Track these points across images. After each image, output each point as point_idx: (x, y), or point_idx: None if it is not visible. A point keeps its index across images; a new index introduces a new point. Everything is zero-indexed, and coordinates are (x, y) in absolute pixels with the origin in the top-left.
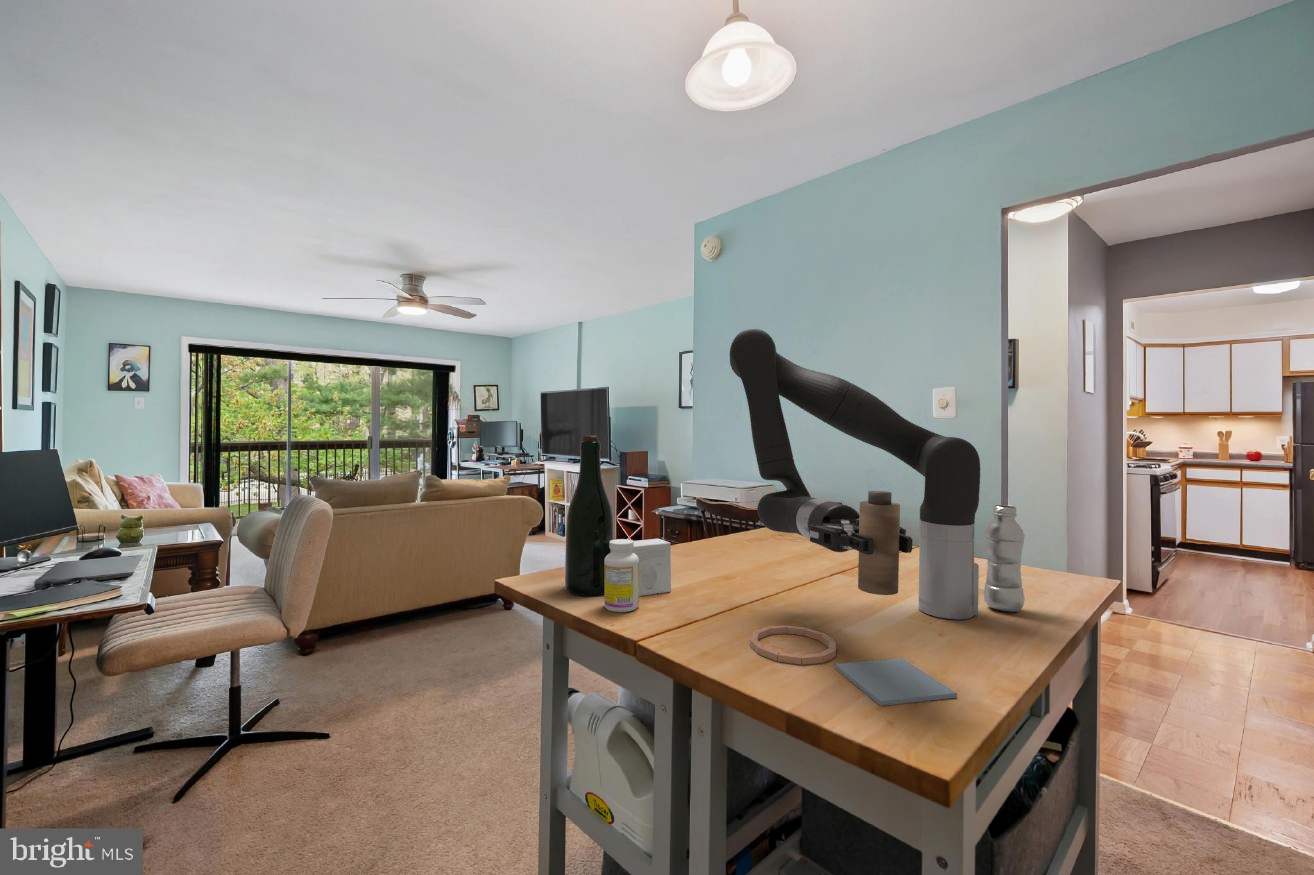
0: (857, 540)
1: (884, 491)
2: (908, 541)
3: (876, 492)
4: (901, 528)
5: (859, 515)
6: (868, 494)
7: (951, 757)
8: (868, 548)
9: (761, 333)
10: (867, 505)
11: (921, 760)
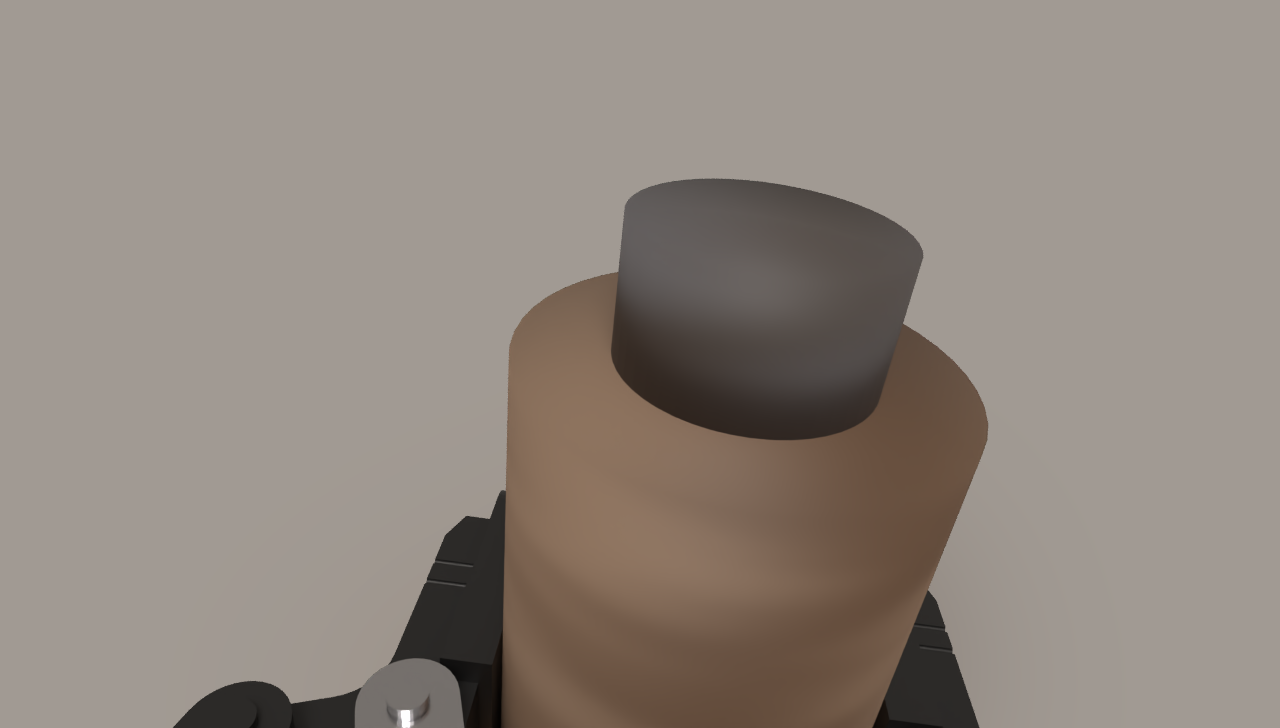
0: (941, 630)
1: (663, 230)
2: None
3: (842, 221)
4: (243, 710)
5: (928, 587)
6: (910, 298)
7: None
8: None
9: None
10: (938, 355)
11: None
